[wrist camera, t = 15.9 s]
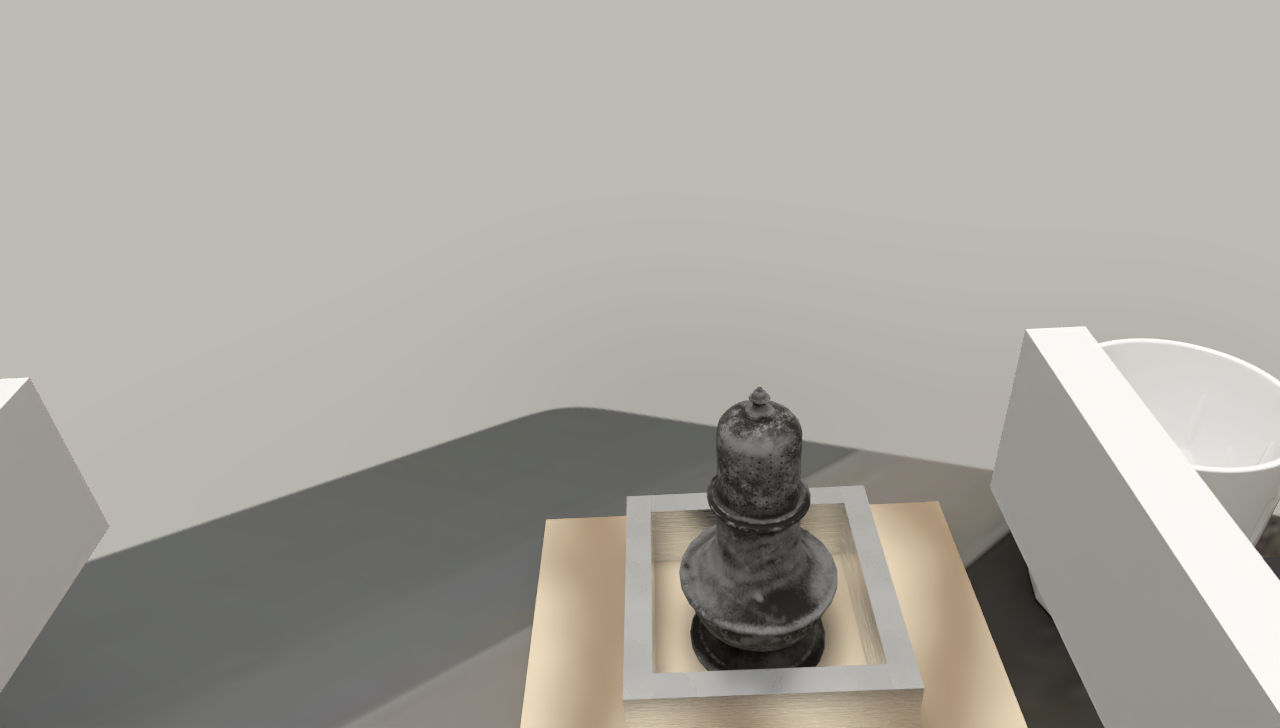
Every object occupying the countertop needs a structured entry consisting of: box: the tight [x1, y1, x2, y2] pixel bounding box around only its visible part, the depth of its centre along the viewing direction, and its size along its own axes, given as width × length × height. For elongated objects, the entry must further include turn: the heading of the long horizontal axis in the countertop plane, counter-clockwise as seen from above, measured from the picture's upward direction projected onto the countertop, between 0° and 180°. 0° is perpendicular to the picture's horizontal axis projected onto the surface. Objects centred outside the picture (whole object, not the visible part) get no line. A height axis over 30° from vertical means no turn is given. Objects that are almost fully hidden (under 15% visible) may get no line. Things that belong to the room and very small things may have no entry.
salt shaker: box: [679, 387, 837, 671], centre depth 33 cm, size 6×6×12 cm
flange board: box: [520, 502, 1027, 728], centre depth 36 cm, size 18×14×1 cm
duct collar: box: [623, 485, 925, 728], centre depth 35 cm, size 10×10×3 cm
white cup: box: [1028, 338, 1280, 617], centre depth 35 cm, size 8×8×10 cm
